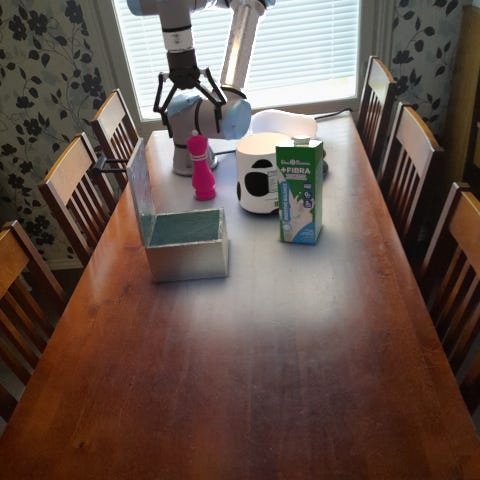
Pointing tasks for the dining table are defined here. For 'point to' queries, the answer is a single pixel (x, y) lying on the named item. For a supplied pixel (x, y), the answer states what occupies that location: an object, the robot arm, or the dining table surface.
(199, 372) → the dining table surface
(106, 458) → the dining table surface
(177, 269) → the metal tin
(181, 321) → the dining table surface
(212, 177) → the pepper mill
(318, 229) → the milk carton
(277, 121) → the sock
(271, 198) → the milk container
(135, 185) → the box lid
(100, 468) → the dining table surface
